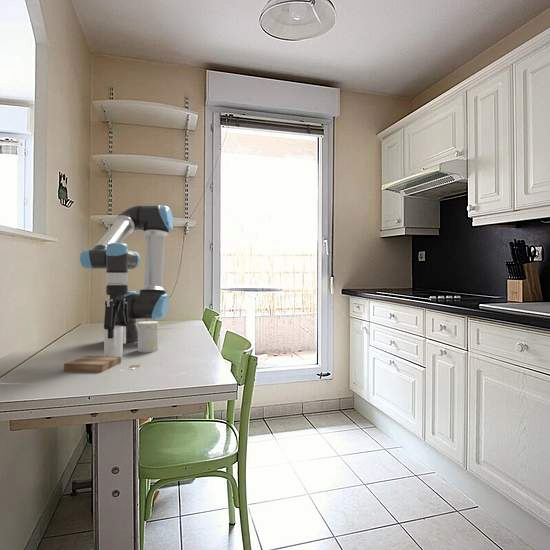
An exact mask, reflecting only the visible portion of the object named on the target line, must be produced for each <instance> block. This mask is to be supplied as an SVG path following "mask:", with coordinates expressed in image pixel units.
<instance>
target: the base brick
mask: <svg viewBox="0 0 550 550" xmlns="http://www.w3.org/2000/svg"><path fill="white" fill-rule="evenodd" d="M121 363H122V358H121V357H112V356H104V355H101V356H99V355H85V356H82V357H80V358H76V359H73V360H71V361H68V362H66V363H63V372H64V373H65V372H68V373H69V372H71V373H73V372H75V373H77V372H78V373H103V372H105V371H107V370H110V369H111V368H113V367H116V366H117V365H120V364H121Z"/></svg>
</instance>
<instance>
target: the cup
mask: <svg viewBox="0 0 550 550" xmlns="http://www.w3.org/2000/svg"><path fill="white" fill-rule="evenodd" d="M159 326H160V325H159V321H156V320H155V321H154V320H146V321H145V320H143V321H138V322H137V329H138V341H137V352H138V353H154V352H158V351H159V333H160V332H159V329H160V328H159Z"/></svg>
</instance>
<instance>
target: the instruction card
mask: <svg viewBox="0 0 550 550" xmlns="http://www.w3.org/2000/svg"><path fill="white" fill-rule="evenodd" d="M139 367H141V364H131V365H130V366H128V370H136V369H137V368H139ZM119 372H126V370H125V369H124V368H121V369H119Z"/></svg>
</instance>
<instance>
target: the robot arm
mask: <svg viewBox="0 0 550 550" xmlns="http://www.w3.org/2000/svg"><path fill="white" fill-rule="evenodd" d="M173 229H174V218H173V213H172V211H171V209H170V207H169V206H167V205H160V204H158V205H134V206H131V207H128V208H127V209H124V210H123V211H122V212H120V213H119V214H118V215H117V216H116V217H115V218H114V220H113V225H111V227H109V229H108V230H107V231H106V232H105V234H104V235H103V236H102V237H101V238H100V240H99V241H97V243H96V244H95V245H94V246H93V248H92V249H85V250H82V251H81V252H80V255H79V262H80V265H81V267H83V268H84V269H93V270H97V269H99V270H100V269H103V270H104V269H105V270H106V274H105V278H106V279H105V281H106V284H107V285H106V286H105V294H106V295H107V296H109V300H105V302H104V305H105V307H104V309H105V310H104V321H103V322H104V323H103V330H104V329H108V347H116V329H114V327H115V326H123V345H125V344H131V343H138V325H137V320H152V321H154V320H155V321H156V320H162V319H164V318H166V316H167V314H168V312H169V308H170V296H169V294H168V293H166V289H164V283H163V282H164V281H163V280H164V266H165V265H164V264H165V249H166V247H165V246H166V243H165V242H166V238H167V237H168V236H169V233H170V231H172V230H173ZM135 231H143V234H144V235H145V238H146V240H145V254H144V255H145V256H144V271H143V272H144V273H143V286H142V287H141V288H140V289H139V293H137V291H136V290H132V291H129V290H128V289H129V287H128V285H127V284H128V283H129V282H128V281H129V277H128V274H129V272H128V270H132V269H136V268H138V267H139V266H140V264H141V262H142V260H141V259H142V258H141V255H140V253H138V252H137V251H135V250H133V249H128V247H129V246H128V244H126V243H123V241H125V239H126V237H127V236H128V235H130V234H132V233H133V232H135Z"/></svg>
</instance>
